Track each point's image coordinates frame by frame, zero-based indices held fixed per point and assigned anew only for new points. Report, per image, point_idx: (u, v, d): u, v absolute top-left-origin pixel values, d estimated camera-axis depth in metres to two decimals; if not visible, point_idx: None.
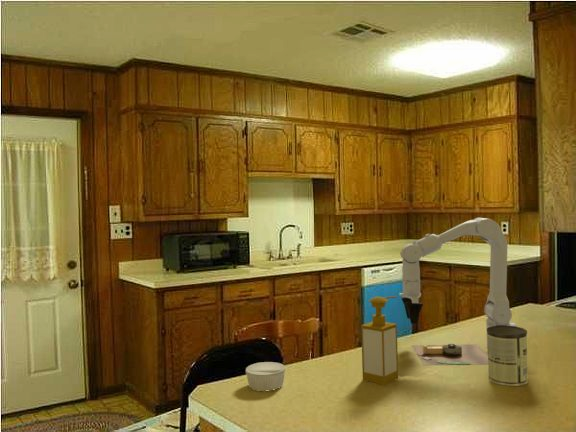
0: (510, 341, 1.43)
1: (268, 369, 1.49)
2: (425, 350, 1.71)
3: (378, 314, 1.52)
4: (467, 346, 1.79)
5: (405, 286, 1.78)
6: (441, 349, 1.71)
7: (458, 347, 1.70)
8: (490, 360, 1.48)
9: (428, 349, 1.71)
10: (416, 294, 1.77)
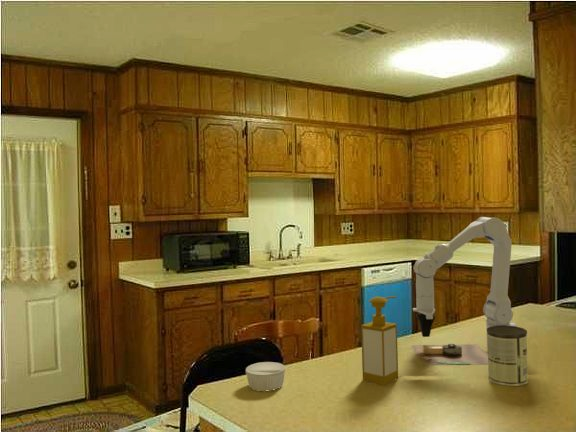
0: (510, 341, 1.43)
1: (268, 369, 1.49)
2: (425, 350, 1.71)
3: (378, 314, 1.52)
4: (467, 346, 1.79)
5: (418, 301, 1.75)
6: (441, 349, 1.71)
7: (458, 347, 1.70)
8: (490, 360, 1.48)
9: (428, 349, 1.71)
10: (430, 309, 1.74)
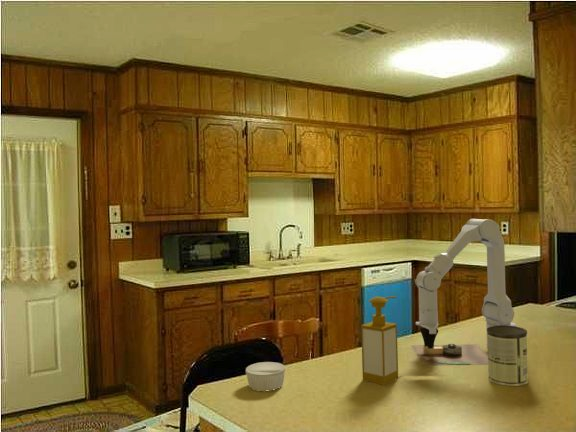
0: (510, 341, 1.43)
1: (268, 369, 1.49)
2: (425, 350, 1.71)
3: (378, 314, 1.52)
4: (467, 346, 1.79)
5: (422, 315, 1.71)
6: (441, 349, 1.70)
7: (458, 347, 1.70)
8: (490, 360, 1.48)
9: (428, 349, 1.71)
10: (433, 324, 1.70)
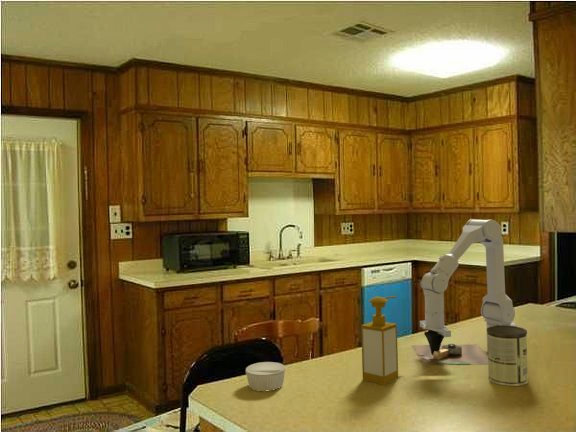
0: (510, 341, 1.43)
1: (268, 369, 1.49)
2: (439, 355, 1.65)
3: (378, 314, 1.52)
4: (467, 346, 1.79)
5: (431, 318, 1.65)
6: (448, 351, 1.68)
7: (457, 346, 1.72)
8: (490, 360, 1.48)
9: (441, 353, 1.66)
10: (442, 326, 1.66)
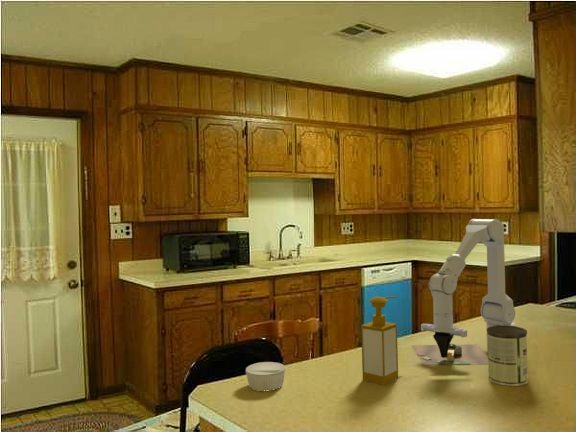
0: (510, 341, 1.43)
1: (268, 369, 1.49)
2: (453, 357, 1.63)
3: (378, 314, 1.52)
4: (467, 346, 1.79)
5: (444, 320, 1.63)
6: (454, 351, 1.68)
7: None
8: (490, 360, 1.48)
9: (453, 355, 1.64)
10: (453, 327, 1.64)
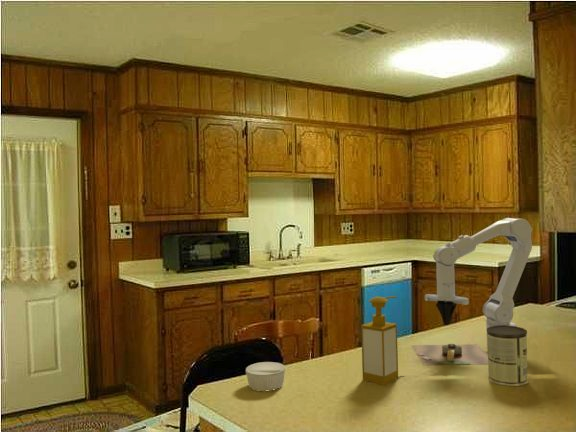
0: (510, 341, 1.43)
1: (268, 369, 1.49)
2: (453, 357, 1.63)
3: (378, 314, 1.52)
4: (467, 346, 1.79)
5: (447, 289, 1.73)
6: (454, 351, 1.68)
7: None
8: (490, 360, 1.48)
9: (453, 355, 1.64)
10: (455, 296, 1.75)
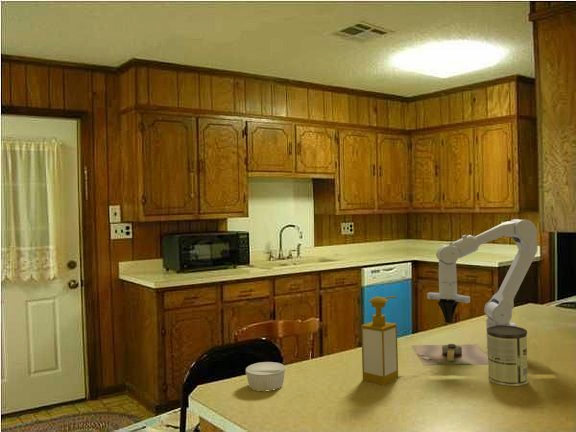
0: (510, 341, 1.43)
1: (268, 369, 1.49)
2: (453, 357, 1.63)
3: (378, 314, 1.52)
4: (467, 346, 1.79)
5: (449, 288, 1.76)
6: (454, 351, 1.68)
7: None
8: (490, 360, 1.48)
9: (453, 355, 1.64)
10: (457, 294, 1.78)
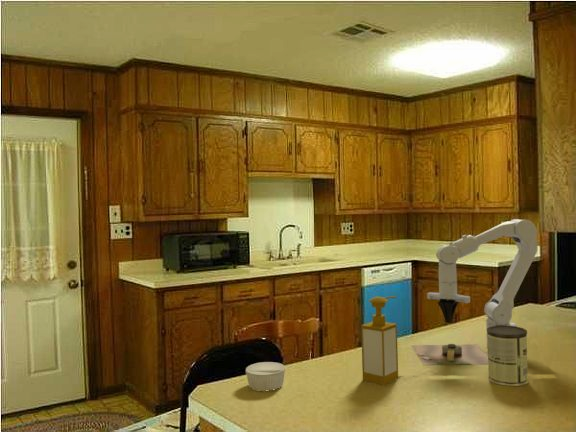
0: (510, 341, 1.43)
1: (268, 369, 1.49)
2: (453, 357, 1.63)
3: (378, 314, 1.52)
4: (467, 346, 1.79)
5: (449, 288, 1.76)
6: (454, 351, 1.68)
7: None
8: (490, 360, 1.48)
9: (453, 355, 1.64)
10: (457, 294, 1.78)
